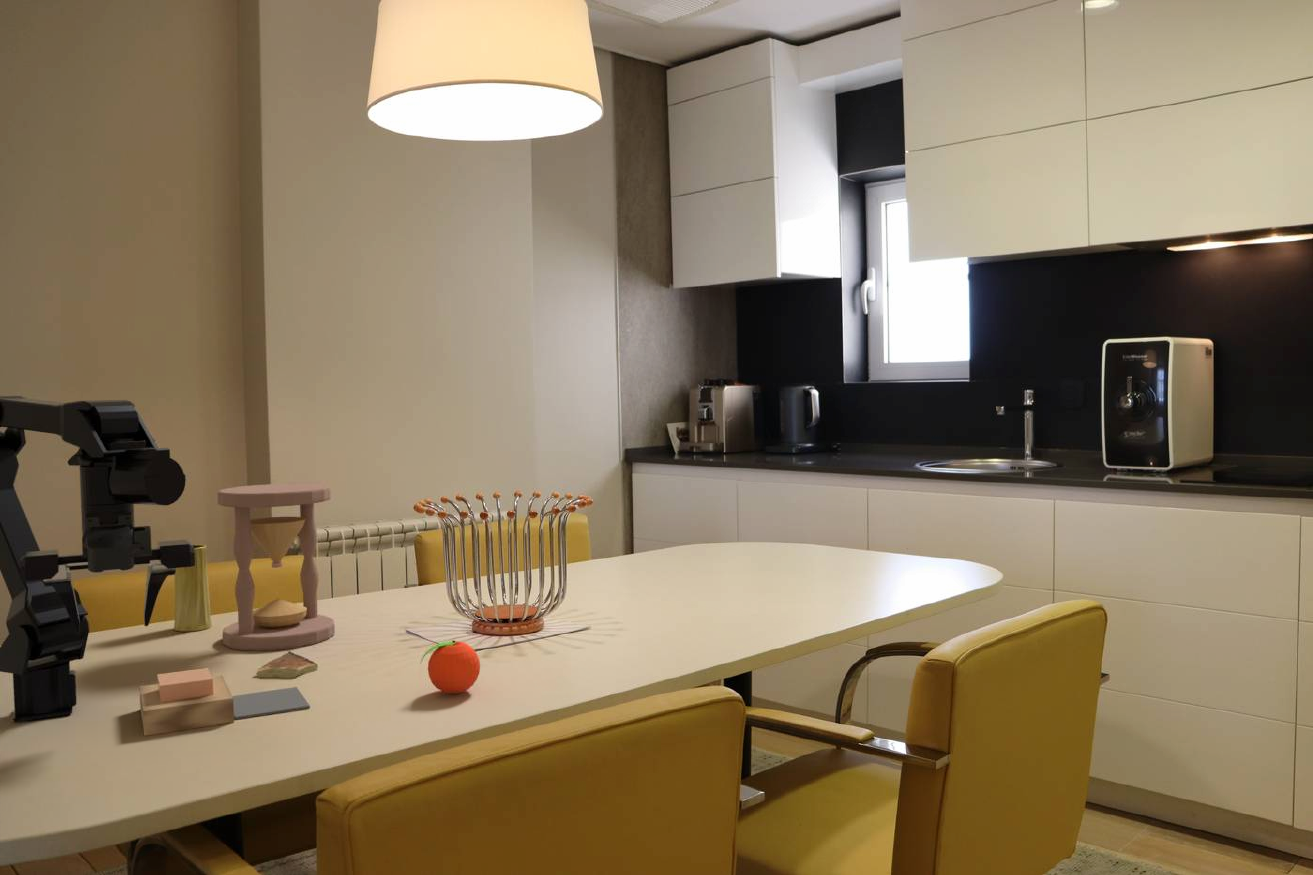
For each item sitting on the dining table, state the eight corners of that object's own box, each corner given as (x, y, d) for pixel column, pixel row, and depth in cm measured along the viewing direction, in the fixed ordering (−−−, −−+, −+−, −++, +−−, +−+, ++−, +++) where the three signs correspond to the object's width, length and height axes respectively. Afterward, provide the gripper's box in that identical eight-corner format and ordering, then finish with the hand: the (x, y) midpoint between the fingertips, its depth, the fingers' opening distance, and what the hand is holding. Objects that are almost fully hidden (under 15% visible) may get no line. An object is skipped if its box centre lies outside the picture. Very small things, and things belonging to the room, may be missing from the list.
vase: (167, 628, 183) (164, 547, 183) (202, 622, 188) (199, 542, 187) (182, 633, 179) (179, 550, 179) (218, 627, 184) (215, 546, 183)
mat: (235, 719, 132) (235, 717, 132) (226, 699, 141) (226, 696, 141) (309, 708, 136) (309, 705, 136) (296, 689, 145) (296, 686, 145)
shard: (289, 660, 162) (289, 649, 162) (336, 661, 161) (336, 649, 161) (254, 680, 152) (253, 668, 151) (304, 681, 151) (304, 668, 150)
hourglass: (254, 657, 163) (248, 495, 162) (203, 640, 175) (198, 489, 173) (355, 636, 176) (350, 486, 175) (301, 621, 188) (297, 481, 186)
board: (144, 735, 126) (143, 710, 126) (140, 709, 137) (139, 686, 136) (234, 722, 131) (233, 698, 131) (223, 697, 141) (222, 675, 141)
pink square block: (160, 701, 129) (159, 685, 129) (157, 689, 135) (157, 674, 135) (213, 694, 132) (212, 678, 132) (208, 683, 138) (208, 667, 137)
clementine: (426, 704, 137) (424, 650, 137) (415, 690, 143) (414, 638, 143) (486, 696, 140) (485, 643, 140) (473, 683, 146) (472, 632, 146)
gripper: (14, 514, 117) (21, 653, 118) (197, 503, 126) (201, 632, 127) (19, 505, 127) (25, 634, 128) (188, 495, 136) (192, 615, 137)
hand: (112, 629), depth 129 cm, fingers open, 7 cm apart
